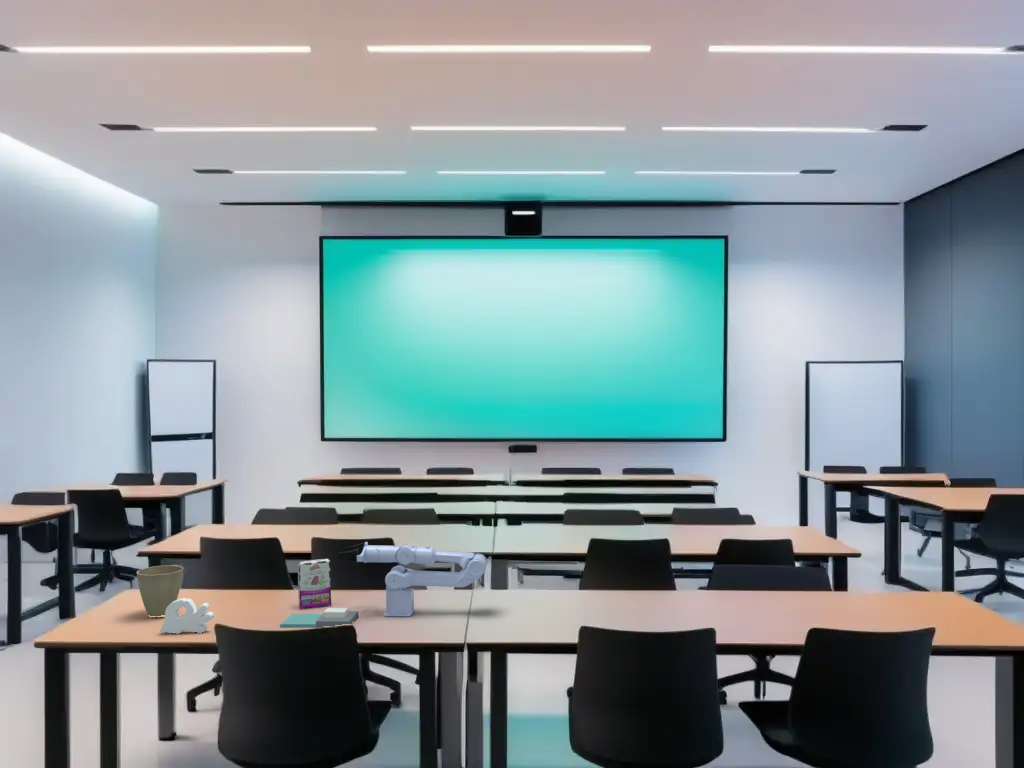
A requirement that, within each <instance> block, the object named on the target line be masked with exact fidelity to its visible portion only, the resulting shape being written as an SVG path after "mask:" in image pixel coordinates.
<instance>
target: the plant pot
mask: <svg viewBox="0 0 1024 768" xmlns="http://www.w3.org/2000/svg"><path fill="white" fill-rule="evenodd" d="M183 573H184V567H183V566H179V565H173V564H172V565H169V564H168V565H165V564H164V565H156V566H155V565H154V566H149V567H144V568H141V569H139V570H137V571H136V576H137V584H138V589H139V594H140V596H141V601H142V603H143V606H144V608H145V611H146V615H147V616H148V615H150V616H161V615H165V610H166V608H167V607H168V606H169V605H170V604H171V603H172V602H173V601H175V600H178V597H179V595H180V590H181V585H182V579H183Z"/></svg>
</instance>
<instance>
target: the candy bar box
mask: <svg viewBox="0 0 1024 768" xmlns="http://www.w3.org/2000/svg"><path fill="white" fill-rule="evenodd" d="M331 584H332V583H331V560H330V559H329V558H320V559H311V560H302V561H300V560H299V561H297V585H298V589H297V590H298V591H297V592H298V607H299V609H300V610H306V609H316V608H323V607H330V606H332V589H331V588H332V587H331V586H332V585H331Z"/></svg>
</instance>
